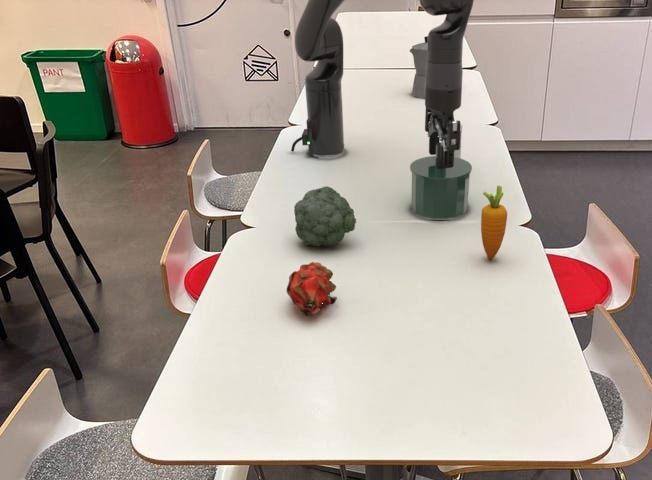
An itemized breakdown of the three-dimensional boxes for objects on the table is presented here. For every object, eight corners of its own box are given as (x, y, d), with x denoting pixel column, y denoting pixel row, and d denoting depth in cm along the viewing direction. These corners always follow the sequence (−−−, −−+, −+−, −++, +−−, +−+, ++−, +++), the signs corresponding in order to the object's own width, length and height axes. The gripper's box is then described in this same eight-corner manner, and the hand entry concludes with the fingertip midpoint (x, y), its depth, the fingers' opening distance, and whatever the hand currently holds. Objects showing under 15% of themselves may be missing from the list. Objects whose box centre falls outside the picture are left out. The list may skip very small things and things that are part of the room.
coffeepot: (418, 101, 229) (419, 41, 218) (401, 94, 235) (401, 36, 224) (454, 93, 236) (457, 35, 225) (437, 87, 242) (438, 30, 232)
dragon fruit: (319, 294, 133) (316, 337, 125) (280, 274, 130) (274, 316, 121) (344, 264, 128) (343, 307, 120) (304, 242, 125) (299, 284, 116)
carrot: (487, 267, 138) (493, 195, 129) (473, 257, 141) (477, 186, 132) (508, 261, 139) (515, 189, 131) (493, 251, 143) (499, 181, 134)
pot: (410, 220, 156) (411, 179, 150) (412, 197, 166) (412, 158, 160) (468, 221, 155) (470, 180, 149) (465, 198, 165) (468, 158, 159)
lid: (409, 183, 150) (409, 154, 146) (410, 160, 161) (410, 133, 157) (473, 183, 149) (474, 155, 146) (470, 160, 160) (471, 133, 157)
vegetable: (376, 221, 150) (353, 218, 136) (335, 261, 155) (309, 262, 140) (340, 178, 151) (313, 171, 137) (300, 220, 155) (270, 217, 141)
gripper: (414, 76, 149) (413, 152, 158) (439, 94, 138) (436, 174, 147) (447, 73, 150) (444, 148, 160) (474, 90, 139) (469, 170, 149)
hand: (440, 160), depth 154 cm, fingers open, 8 cm apart
